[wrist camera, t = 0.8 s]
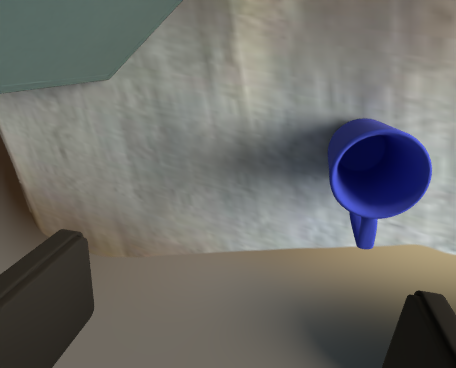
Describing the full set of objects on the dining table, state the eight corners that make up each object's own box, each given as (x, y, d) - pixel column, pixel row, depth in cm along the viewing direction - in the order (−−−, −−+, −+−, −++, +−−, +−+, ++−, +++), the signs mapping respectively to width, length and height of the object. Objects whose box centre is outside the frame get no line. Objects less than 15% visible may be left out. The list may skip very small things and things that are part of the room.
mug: (315, 208, 41) (322, 252, 32) (324, 109, 37) (334, 128, 27) (385, 212, 40) (414, 259, 30) (403, 110, 35) (442, 130, 26)
